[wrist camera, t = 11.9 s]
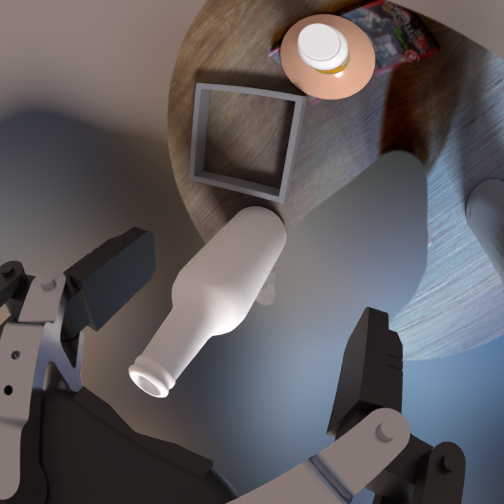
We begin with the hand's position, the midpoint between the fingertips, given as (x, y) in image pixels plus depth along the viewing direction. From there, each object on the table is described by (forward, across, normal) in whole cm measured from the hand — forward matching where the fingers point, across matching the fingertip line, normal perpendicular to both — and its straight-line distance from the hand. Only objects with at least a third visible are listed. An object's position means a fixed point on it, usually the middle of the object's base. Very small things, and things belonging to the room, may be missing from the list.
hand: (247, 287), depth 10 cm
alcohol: (+32, +8, +16) cm, 36 cm away
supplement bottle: (+31, +3, -12) cm, 33 cm away
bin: (+31, +12, +2) cm, 34 cm away
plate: (+31, +3, -12) cm, 34 cm away
